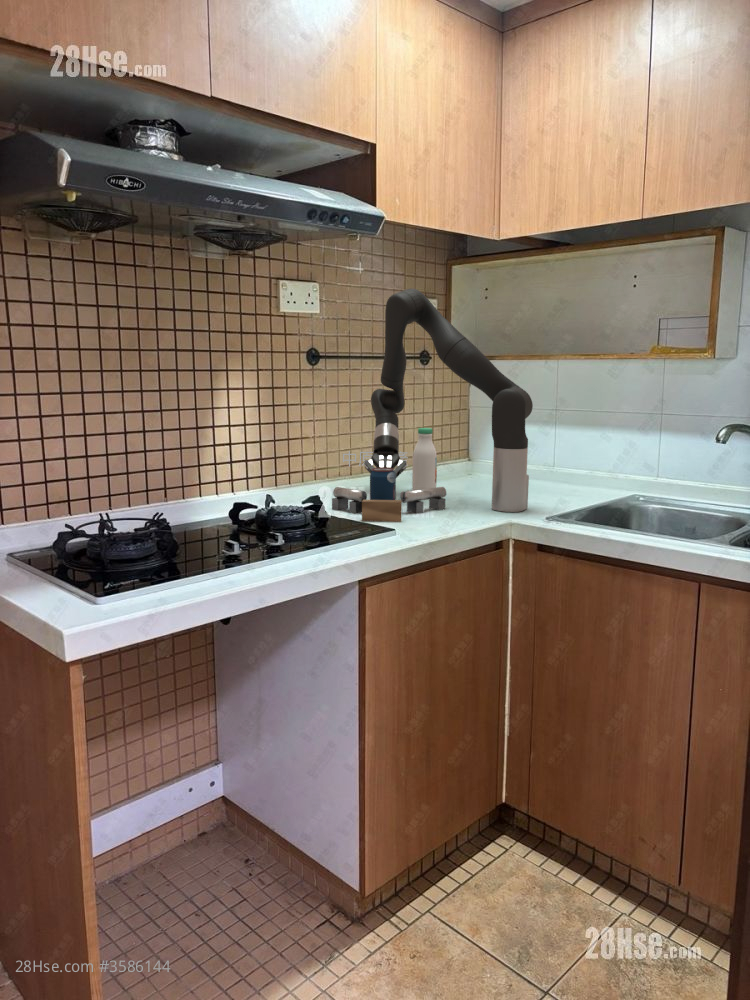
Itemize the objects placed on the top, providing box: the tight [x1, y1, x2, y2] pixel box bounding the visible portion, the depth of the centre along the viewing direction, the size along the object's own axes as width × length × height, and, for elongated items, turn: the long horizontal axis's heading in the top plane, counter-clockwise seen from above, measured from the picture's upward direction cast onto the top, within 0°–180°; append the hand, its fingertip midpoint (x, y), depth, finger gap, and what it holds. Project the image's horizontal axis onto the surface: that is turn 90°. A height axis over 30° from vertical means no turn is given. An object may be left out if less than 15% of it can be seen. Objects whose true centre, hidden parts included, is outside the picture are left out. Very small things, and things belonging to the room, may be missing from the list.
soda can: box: [369, 467, 397, 500], centre depth 192 cm, size 7×7×12 cm
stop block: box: [361, 499, 403, 523], centre depth 183 cm, size 3×10×5 cm, turn 87°
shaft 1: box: [331, 486, 368, 514], centre depth 195 cm, size 10×4×6 cm, turn 47°
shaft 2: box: [399, 486, 447, 514], centre depth 196 cm, size 14×4×6 cm, turn 127°
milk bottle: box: [411, 427, 438, 490], centre depth 228 cm, size 8×8×20 cm
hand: (384, 488), depth 204 cm, fingers closed
